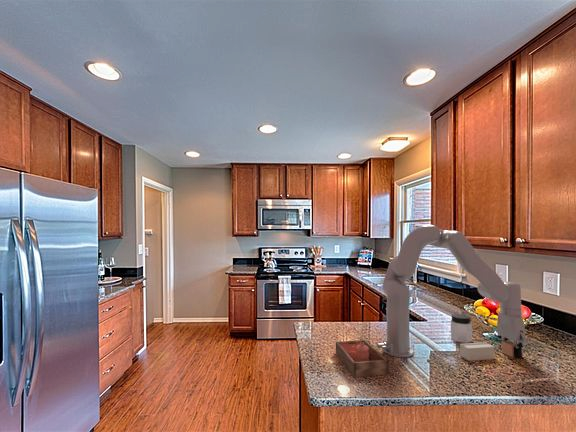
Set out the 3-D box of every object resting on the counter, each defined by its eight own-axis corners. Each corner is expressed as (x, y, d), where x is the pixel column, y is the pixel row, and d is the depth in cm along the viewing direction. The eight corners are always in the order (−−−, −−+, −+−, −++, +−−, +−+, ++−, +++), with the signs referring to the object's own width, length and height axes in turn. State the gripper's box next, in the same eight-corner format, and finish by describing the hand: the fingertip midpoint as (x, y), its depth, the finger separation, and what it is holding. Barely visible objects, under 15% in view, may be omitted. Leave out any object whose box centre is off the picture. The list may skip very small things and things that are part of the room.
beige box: (468, 360, 128) (468, 348, 128) (460, 355, 133) (459, 343, 133) (494, 358, 130) (494, 346, 130) (485, 354, 135) (485, 342, 135)
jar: (465, 345, 146) (464, 319, 147) (448, 340, 153) (447, 315, 154) (475, 341, 151) (474, 316, 152) (458, 337, 158) (457, 312, 159)
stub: (511, 357, 131) (511, 344, 131) (502, 352, 136) (501, 340, 136) (522, 356, 132) (521, 344, 132) (512, 352, 137) (511, 340, 137)
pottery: (339, 354, 138) (339, 331, 138) (360, 352, 139) (359, 330, 139) (353, 372, 120) (353, 346, 120) (377, 371, 121) (376, 345, 122)
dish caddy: (353, 376, 116) (353, 363, 116) (335, 353, 138) (335, 341, 138) (388, 374, 118) (388, 360, 118) (365, 351, 140) (364, 339, 140)
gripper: (487, 306, 143) (488, 347, 142) (520, 317, 126) (521, 363, 125) (502, 306, 144) (503, 346, 143) (536, 316, 127) (538, 362, 126)
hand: (512, 353), depth 134 cm, fingers closed on stub, 5 cm apart
